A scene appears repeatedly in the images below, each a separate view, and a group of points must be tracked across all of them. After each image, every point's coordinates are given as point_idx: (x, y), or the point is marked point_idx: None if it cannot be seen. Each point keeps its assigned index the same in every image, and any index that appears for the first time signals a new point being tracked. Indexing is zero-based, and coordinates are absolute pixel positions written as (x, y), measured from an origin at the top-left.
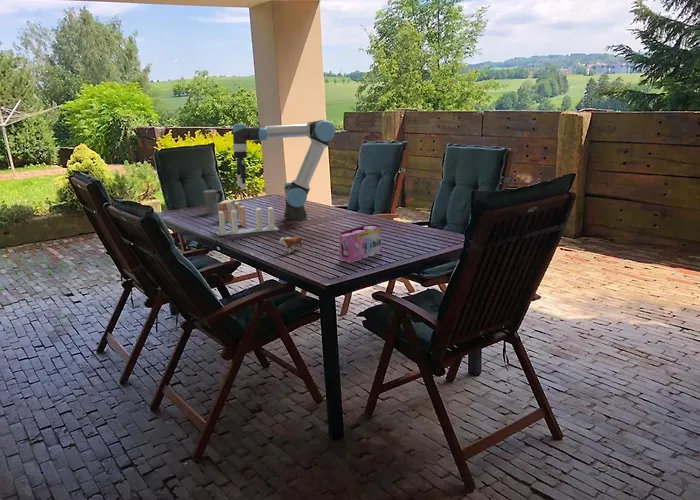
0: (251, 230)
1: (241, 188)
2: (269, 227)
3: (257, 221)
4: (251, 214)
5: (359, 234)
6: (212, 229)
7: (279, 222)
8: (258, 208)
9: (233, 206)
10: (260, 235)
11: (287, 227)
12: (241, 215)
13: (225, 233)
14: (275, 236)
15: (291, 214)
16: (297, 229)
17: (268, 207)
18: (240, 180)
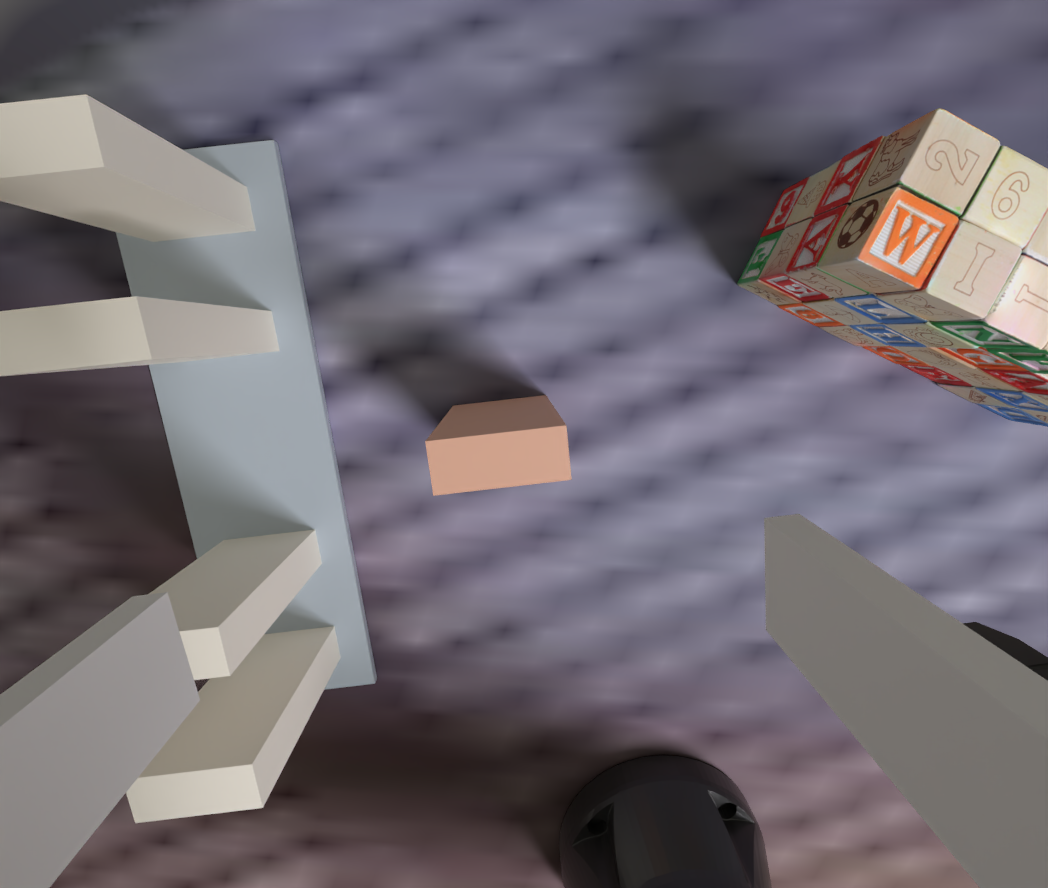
0: (250, 481)
1: (118, 609)
2: (292, 635)
3: (207, 570)
4: (1021, 512)
5: None
6: (452, 109)
7: (557, 715)
8: (198, 662)
9: (966, 348)
10: (83, 543)
11: (340, 757)
12: (438, 425)
13: (150, 239)
14: (24, 651)
15: (587, 857)
16: (245, 817)
17: (239, 775)
18: (859, 693)
